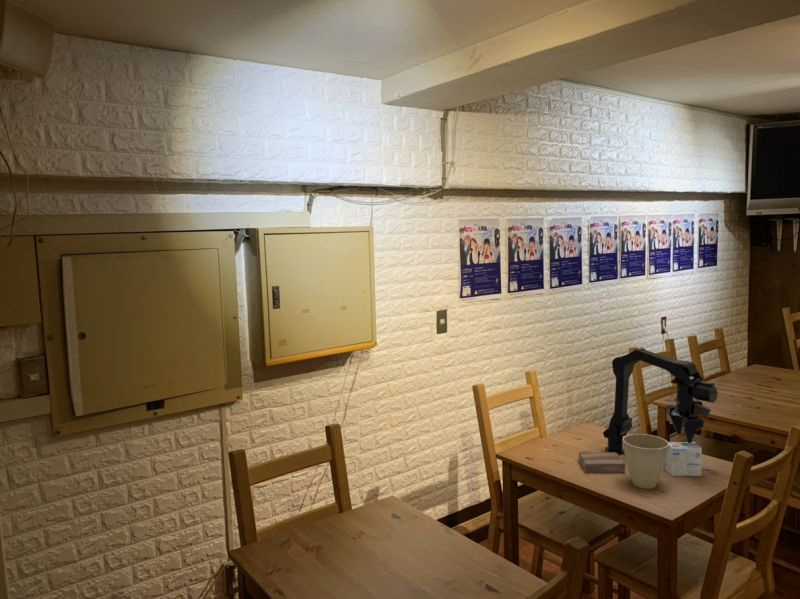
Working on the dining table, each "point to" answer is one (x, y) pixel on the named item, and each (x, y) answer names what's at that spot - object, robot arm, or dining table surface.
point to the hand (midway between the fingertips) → (684, 438)
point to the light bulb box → (684, 459)
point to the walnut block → (601, 463)
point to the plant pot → (645, 458)
